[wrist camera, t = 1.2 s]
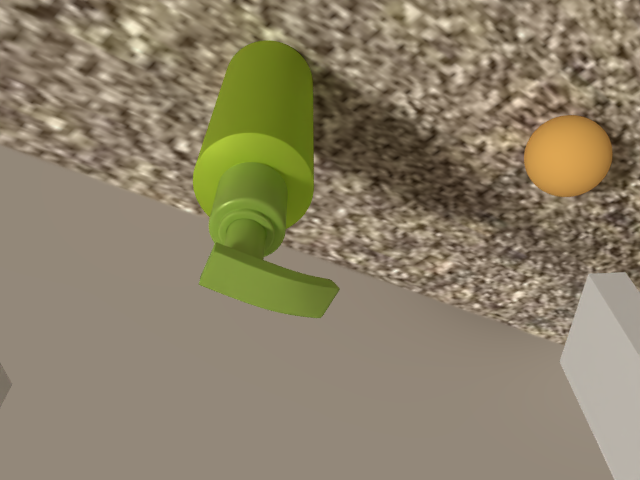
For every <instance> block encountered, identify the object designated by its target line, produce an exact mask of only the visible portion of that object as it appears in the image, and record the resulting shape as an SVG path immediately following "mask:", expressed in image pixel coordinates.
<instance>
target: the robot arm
mask: <svg viewBox="0 0 640 480" xmlns="http://www.w3.org/2000/svg"><path fill="white" fill-rule="evenodd" d="M560 363H561V365H562V368H563V370H564V372H565V374H566V376H567V379H568V381H569V383H570V385H571V387H572V389H573V392H574V394H575V396H576V398H577V400H578V402H579V404H580V407H581V409H582V411H583V413H584V415H585V417H586V419H587V422H588V424H589V426H590V428H591V430H592V432H593V435H594V437H595V439H596V441H597V443H598V445H599V447H600V450H601V452H602V454H603V456H604V458H605V460H606V462H607V465H608V467H609V469H610V471H611V473H612V476H613V478H614V480H640V293H639V291H638V290H637V288H636V287H635V285H634V284H633V283H632V281H631V280H630V278H629V277H628V275H627V274H626V273H625V272H620V273H596V274H588V277H587V280H586V283H585V286H584V289H583V292H582V295H581V298H580V301H579V304H578V307H577V310H576V314H575V317H574V320H573V323H572V326H571V329H570V332H569V335H568V338H567V341H566V344H565V347H564V351H563V353H562V356H561V359H560ZM11 386H12V383H11V381H10V379H9V377H8V376H7V374H6V372H5V370H4V369H3V367H2V365H1V364H0V407H1V405H2V403H3V401H4V399H5V397H6V395H7V393H8V391H9V389H10V388H11Z"/></svg>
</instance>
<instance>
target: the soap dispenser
mask: <svg viewBox="0 0 640 480" xmlns="http://www.w3.org/2000/svg"><path fill="white" fill-rule="evenodd" d="M193 188H194V192H195V196H196V198H197V201H198V203H199V204H200V206H201V208H202V209H203V210H204V212H205V213H206V214H207V215H208V216H209V217H210V219H209V232H210V235H211V238H212V240H213V241H214V243H215V245H214V247H213V249H212V252H211V254H210V256H209V258H208V260H207V263H206V265H205V267H204V270H203V272H202V274H201V277H200V282H199V285H201V286H203V287H206V288H209V289H211V290H214V291H216V292H219V293H221V294H224V295H227V296H229V297H232V298H234V299H237V300H240V301H243V302H245V303H248V304H251V305H254V306H257V307H261V308H264V309H268V310H271V311H275V312H279V313H284V314H289V315H295V316H303V317H311V318H321V317H322V316H323V315H324V313H325V311H326V310H327V308H328V307H329V305H330V303H331V302H332V301H333V299H334V298H335V296H336V294H337V293H338V291H339V287H338V286H337V285H336V284H335V283H334V282H333V281H332V280H330V279H325V278H320V277H315V276H310V275H306V274H302V273H299V272H295V271H292V270H289V269H286V268H283V267H281V266H278V265H275V264H273V263H270V262H267V261H264V260H263V258H264V257H265V256H267V255H269V254H271V253H273V252H274V251H275V250H277V249H278V247H279V246H280V245H281V243H282V241H283V239H284V236H285V231H286V229H287V228H289V227H290V226H292V225H293V224H295V223H296V222H297V221H298V220H299V219H300V218H301V217H302V216H303V215H304V214H305V212H306V211H307V209H308V208H309V206H310V203H311V201H312V197H313V191H314V151H313V78H312V74H311V71H310V68H309V66H308V64H307V63H306V61H305V60H304V58H303V57H302V56H301V55H300V54H299V53H298V52H297V51H296V50H294V49H293V48H291V47H290V46H288V45H285V44H283V43H280V42H276V41H259V42H254V43H251V44H249V45H247V46H245V47H244V48H242V49H241V50H239V51H238V52H237V53H236V54H235V56H234V57H233V58H232V60H231V61H230V63H229V65H228V68H227V71H226V74H225V77H224V80H223V83H222V86H221V89H220V92H219V95H218V98H217V101H216V105H215V108H214V111H213V114H212V117H211V120H210V123H209V126H208V129H207V132H206V135H205V138H204V141H203V144H202V147H201V150H200V153H199V156H198V159H197V163H196V166H195V169H194V174H193Z"/></svg>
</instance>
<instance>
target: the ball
mask: <svg viewBox="0 0 640 480" xmlns="http://www.w3.org/2000/svg"><path fill="white" fill-rule="evenodd" d="M611 162H612V145H611V142H610V139H609V137H608V135H607V134H606V132H605V131H604V129H603V128H602V127H601V126H599V125H598V124H597V123H596V122H594V121H592V120H590V119H588V118H585V117H582V116H576V115H567V116H560V117H556V118H553V119H551V120H549V121H547V122H545V123H544V124H542V125H541V126H540V127H539V128H538V129H537V130H536V131H535V132H534V133H533V134H532V136H531V137H530V139H529V141H528V143H527V145H526V149H525V154H524V163H525V168H526V171H527V174H528V176H529V178H530V179H531V180H532V182H533V183H534V184H535V185H536V186H537V187H538V188H539V189H541V190H542V191H544V192H546V193H548V194H551V195H555V196H560V197H572V196H577V195H581V194H583V193H586V192H588V191H590V190H591V189H593V188H594V187H596V186H597V185H598V184H599V183H600V182H601V181H602V180H603V179H604V177H605V176H606V174H607V173H608V171H609V168H610V166H611Z"/></svg>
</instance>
